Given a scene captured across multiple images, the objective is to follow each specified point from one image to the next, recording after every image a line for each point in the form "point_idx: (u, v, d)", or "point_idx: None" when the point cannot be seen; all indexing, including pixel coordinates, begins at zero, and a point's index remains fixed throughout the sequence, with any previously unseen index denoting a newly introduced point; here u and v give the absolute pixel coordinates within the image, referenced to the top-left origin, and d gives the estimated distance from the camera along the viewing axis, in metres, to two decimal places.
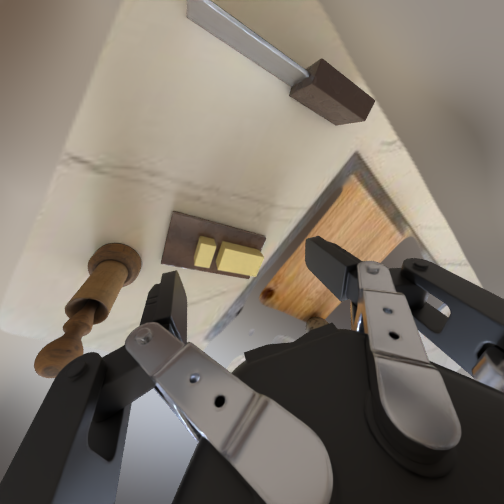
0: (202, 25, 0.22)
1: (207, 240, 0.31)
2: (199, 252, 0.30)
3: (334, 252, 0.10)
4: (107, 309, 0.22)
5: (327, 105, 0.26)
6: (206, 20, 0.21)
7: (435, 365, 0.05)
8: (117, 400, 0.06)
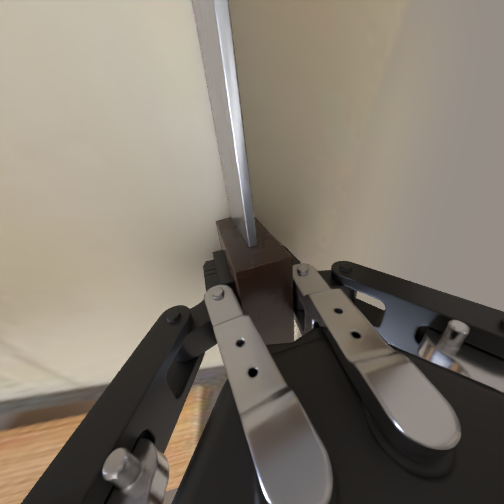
0: None
1: None
2: None
3: None
4: None
5: None
6: None
7: (435, 365, 0.05)
8: (200, 344, 0.08)
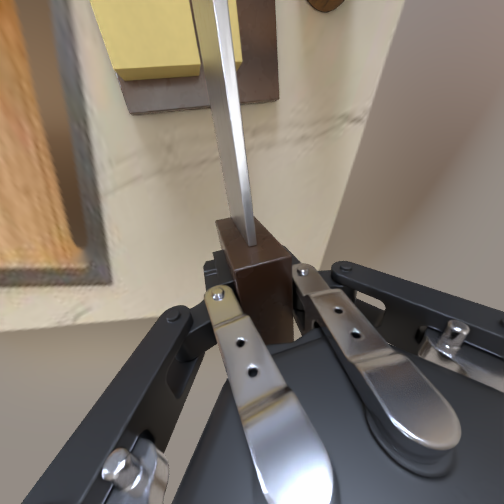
0: None
1: None
2: (238, 37, 0.17)
3: None
4: None
5: None
6: None
7: (435, 365, 0.05)
8: (200, 344, 0.08)
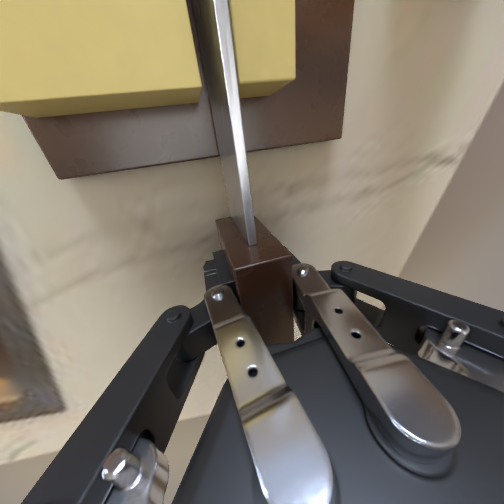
0: None
1: (258, 91, 0.09)
2: (291, 23, 0.07)
3: None
4: None
5: None
6: None
7: (435, 365, 0.05)
8: (200, 344, 0.08)
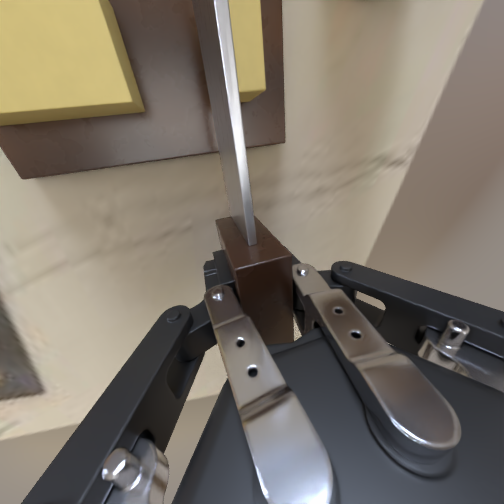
0: None
1: None
2: (259, 46, 0.09)
3: None
4: None
5: None
6: None
7: (435, 365, 0.05)
8: (200, 344, 0.08)
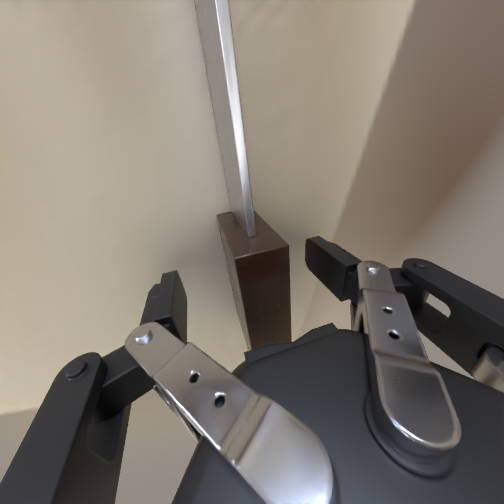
0: None
1: None
2: None
3: (334, 252, 0.10)
4: None
5: (238, 300, 0.12)
6: None
7: (435, 365, 0.05)
8: (117, 400, 0.06)
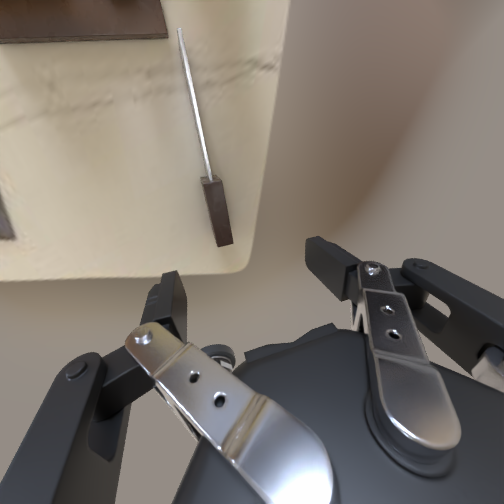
0: (183, 66, 0.23)
1: None
2: None
3: (334, 252, 0.10)
4: None
5: (208, 211, 0.28)
6: (183, 65, 0.22)
7: (435, 365, 0.05)
8: (117, 400, 0.06)
